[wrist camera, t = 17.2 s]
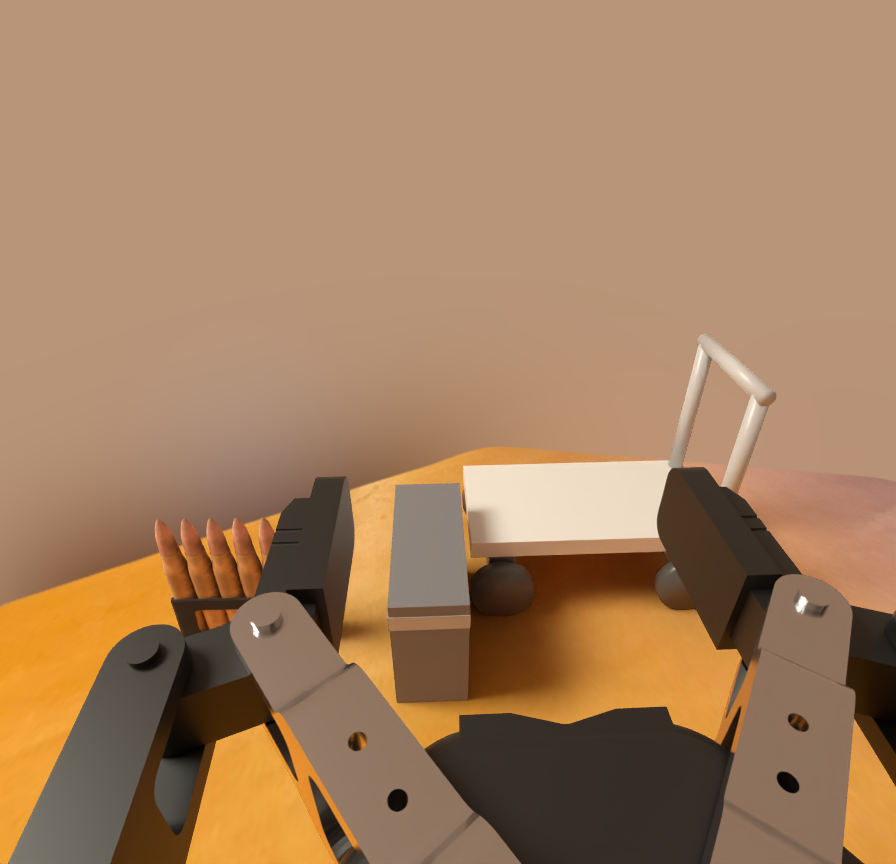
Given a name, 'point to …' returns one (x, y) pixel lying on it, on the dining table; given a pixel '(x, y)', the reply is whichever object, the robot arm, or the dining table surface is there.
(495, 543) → the trolley
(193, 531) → the ammunition clip
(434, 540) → the grey lidded box
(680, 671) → the dining table surface
